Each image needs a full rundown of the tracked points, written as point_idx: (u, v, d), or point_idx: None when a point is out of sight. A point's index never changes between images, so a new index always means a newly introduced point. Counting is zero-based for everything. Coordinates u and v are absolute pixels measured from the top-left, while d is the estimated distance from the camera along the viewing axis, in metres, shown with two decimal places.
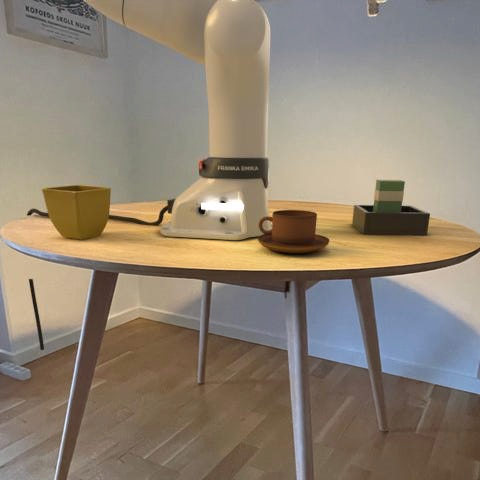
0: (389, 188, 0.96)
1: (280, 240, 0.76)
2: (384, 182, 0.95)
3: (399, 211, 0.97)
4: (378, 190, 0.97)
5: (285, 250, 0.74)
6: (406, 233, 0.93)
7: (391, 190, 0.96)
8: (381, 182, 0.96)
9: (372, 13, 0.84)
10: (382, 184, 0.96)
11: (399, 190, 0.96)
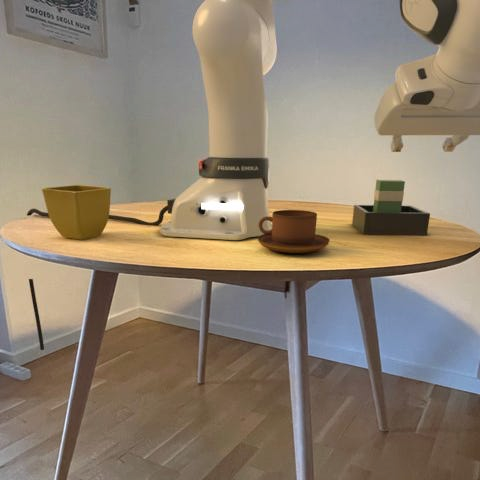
0: (389, 188, 0.96)
1: (280, 240, 0.76)
2: (384, 182, 0.95)
3: (399, 211, 0.97)
4: (378, 190, 0.97)
5: (285, 250, 0.74)
6: (406, 233, 0.93)
7: (391, 190, 0.96)
8: (381, 182, 0.96)
9: (443, 147, 0.83)
10: (382, 184, 0.96)
11: (399, 190, 0.96)
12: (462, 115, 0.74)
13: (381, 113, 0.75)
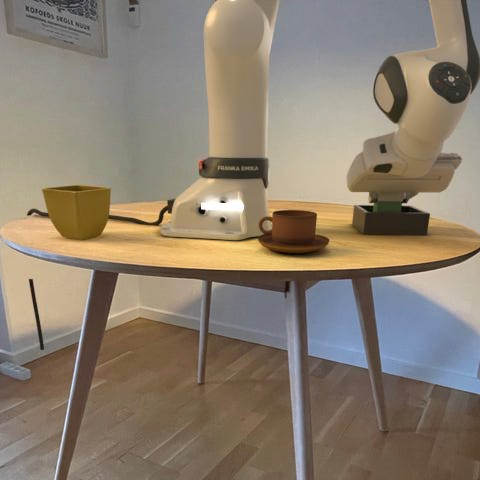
0: None
1: (280, 240, 0.76)
2: None
3: (399, 211, 0.97)
4: None
5: (285, 250, 0.74)
6: (406, 233, 0.93)
7: None
8: None
9: None
10: None
11: None
12: (418, 178, 0.91)
13: (351, 175, 0.91)
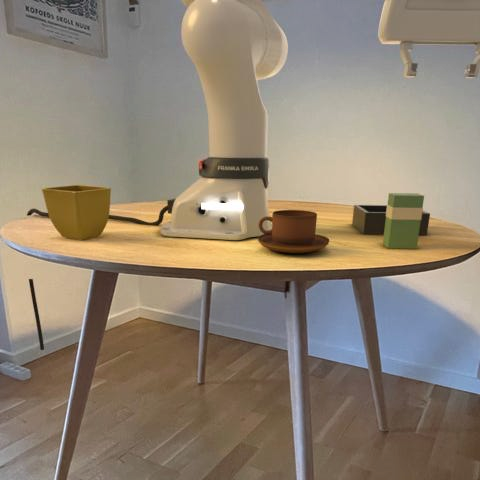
0: (405, 204, 0.78)
1: (280, 240, 0.76)
2: (399, 197, 0.78)
3: (417, 232, 0.80)
4: (391, 206, 0.79)
5: (285, 250, 0.74)
6: None
7: (407, 206, 0.79)
8: (395, 197, 0.78)
9: (465, 76, 0.73)
10: (396, 199, 0.78)
11: (417, 206, 0.79)
12: (474, 9, 0.68)
13: (384, 13, 0.70)
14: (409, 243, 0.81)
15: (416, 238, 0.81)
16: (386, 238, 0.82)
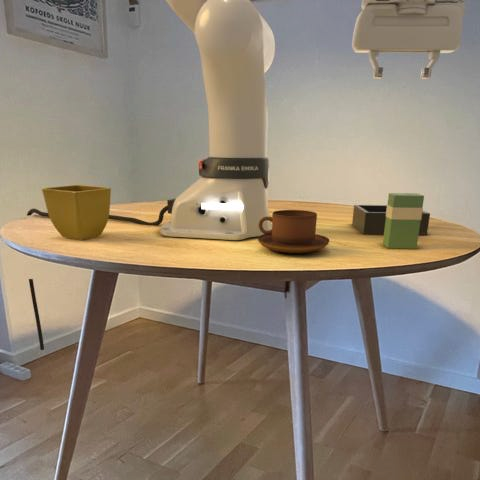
0: (405, 204, 0.79)
1: (280, 240, 0.76)
2: (399, 197, 0.78)
3: (417, 232, 0.80)
4: (391, 206, 0.79)
5: (285, 250, 0.74)
6: None
7: (407, 206, 0.79)
8: (395, 197, 0.78)
9: (421, 77, 0.93)
10: (396, 199, 0.78)
11: (417, 206, 0.79)
12: (425, 25, 0.88)
13: (356, 29, 0.89)
14: (409, 243, 0.81)
15: (416, 238, 0.81)
16: (386, 238, 0.82)
